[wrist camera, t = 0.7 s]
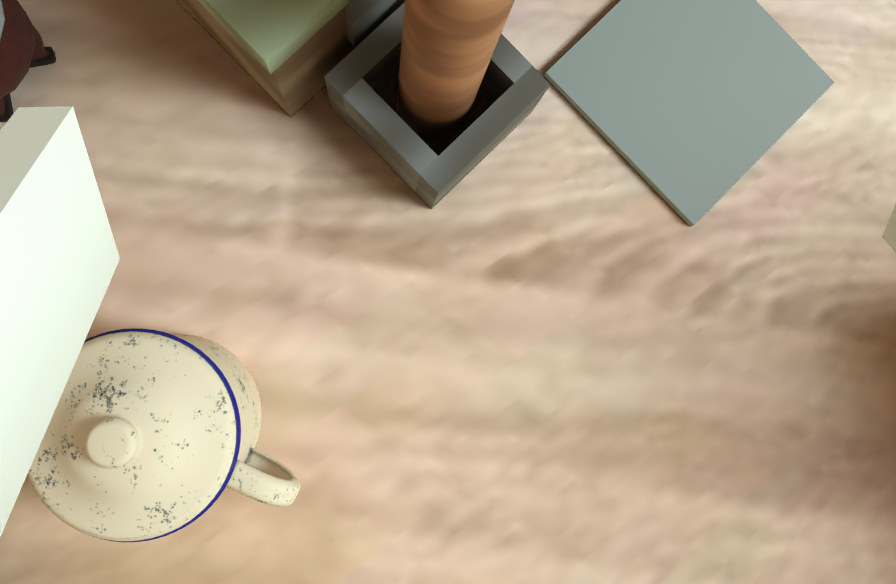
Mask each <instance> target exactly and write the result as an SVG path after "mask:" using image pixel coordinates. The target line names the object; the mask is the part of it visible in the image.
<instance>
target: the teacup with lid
mask: <svg viewBox="0 0 896 584" xmlns="http://www.w3.org/2000/svg"><path fill="white" fill-rule="evenodd" d="M261 414H262V413H261V402H260V397H259V393H258V390H257V387H256V384H255V382H254V380H253V378H252V376H251V374H250V373H249V371H248V370H247V368H246V367H245V366H244V364H243V363H242V362H241V361H240V360H239V359H238V358H237V357H236V356H235V355H234V354H232V353H231V352H230V351H229V350H227V349H226V348H224V347H222V346H221V345H219V344H217V343H215V342H212V341H210V340H207V339H204V338H201V337H196V336H189V335H171V334H168V333H165V332H160V331H156V330H149V329H121V330H115V331H110V332H106V333H103V334H99V335H97V336H94V337H91V338H89V339H87V340H85V341H84V344H83V346H82V348H81V351H80V353H79V355H78V358H77V360H76V362H75V365H74V367H73V369H72V372H71V374H70V376H69V379H68V381H67V383H66V386H65V388H64V390H63V393H62V395H61V397H60V400H59V402H58V404H57V407H56V409H55V411H54V414H53V416H52V418H51V420H50V423H49V425H48V427H47V430H46V432H45V434H44V437H43V439H42V441H41V444H40V446H39V448H38V451H37V453H36V455H35V458H34V460H33V462H32V465H31V467H30V469H29V472H28V477H29V479H30V482H31V484H32V486H33V488H34V490H35V491H36V493H37V494H38V496H39V498H40V499H41V500H42V501H43V503H44V504H45V505H46V507H47V508H48V509H49V510H50V511H51V512H52V513H53V514H54V515H56V516H57V517H58V518H59V519H60V520H62V521H63V522H65V523H66V524H68V525H69V526H71V527H72V528H74V529H76V530H78V531H80V532H83V533H85V534H87V535H90V536H93V537H96V538H100V539H104V540H109V541H116V542H140V541H147V540H152V539H156V538H160V537H163V536H166V535H169V534H171V533H174V532H176V531H178V530H180V529H182V528H184V527H186V526H187V525H189V524H190V523H192V522H193V521H195V520H196V519H197V518H198V517H200V516H201V515H202V514H203V513H204V512H206V511H207V510H208V509H209V508H210V507H211V506H212V504H213V503H214V502H215V501H216V500H217V499H218V497H219V496H220V494H221V493H222V492H223V490H224V489H225V487H226V486H227V487H229V488H231V489H233V490H235V491H237V492H239V493H241V494H243V495H245V496H247V497H250V498H252V499H254V500H257V501H260V502H262V503H265V504H269V505H273V506H279V507H283V506H288V505H290V504H292V503H293V502H294V500H295V498H296V496H297V494H298V492H299V490H300V483H299V480H298V479H297V477H296V476H295V475H294V473H293V472H291V471H290V470H289V469H288V468H287V467H285V466H284V465H283V464H281V463H280V462H278V461H276V460H275V459H273V458H271V457H269V456H268V455H266V454H264V453H262V452H260V451H258V450H256V449H254V448H255V445H256V443H257V440H258V437H259V432H260V427H261Z"/></svg>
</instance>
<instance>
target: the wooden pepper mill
mask: <svg viewBox="0 0 896 584" xmlns="http://www.w3.org/2000/svg"><path fill="white" fill-rule="evenodd" d="M513 3H514V0H405V5H404V18H403V30H402V43H401V55H400V68H399V80H398V93H397V105H396V112H397V115H398V116H399V117H400V118H401V119H402V120H403V121H404V122H405V123H406V124H407V125H408V126H409V127H410V128H411V129H412V130H413V131H414V132H415V133H416V134H417V135H418V136H419V137H420V138H421V139H422V140H423V141H424V142H425V143H426V144H440V143H444V142H447V141H449V140H451V139H452V138H454V137H455V136H456V135H457V134H458V133H459V132H460V131H461V129H462V128H463V126H464V124H465V122H466V119H467V117H468V114H469V112H470V109H471V107H472V104H473V102H474V99H475V97H476V94H477V92H478V89H479V87H480V84H481V82H482V79H483V77H484V74H485V72H486V70H487V67H488V65H489V62H490V60H491V57H492V55H493V52H494V50H495V47H496V45H497V42H498V40H499V37H500V35H501V32H502V30H503V27H504V25H505V22H506V20H507V18H508V15H509V13H510V10H511V8H512V5H513Z"/></svg>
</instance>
